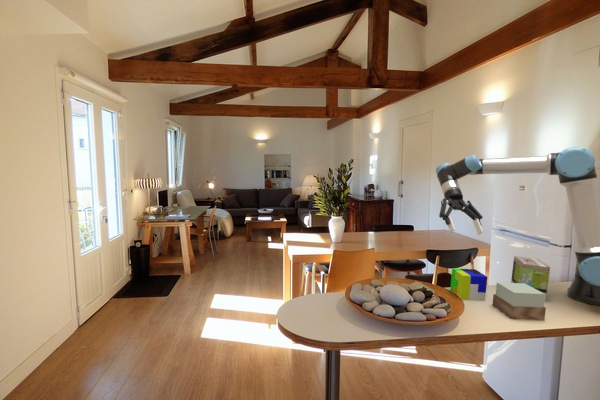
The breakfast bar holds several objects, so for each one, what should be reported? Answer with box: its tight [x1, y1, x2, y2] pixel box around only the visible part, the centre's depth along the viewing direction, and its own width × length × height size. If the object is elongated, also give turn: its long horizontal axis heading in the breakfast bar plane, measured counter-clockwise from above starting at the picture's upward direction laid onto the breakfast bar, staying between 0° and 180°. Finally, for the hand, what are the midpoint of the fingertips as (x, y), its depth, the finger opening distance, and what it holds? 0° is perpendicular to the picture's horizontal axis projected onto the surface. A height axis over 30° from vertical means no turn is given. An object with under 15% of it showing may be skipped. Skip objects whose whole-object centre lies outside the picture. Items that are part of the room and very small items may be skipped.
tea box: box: [510, 255, 551, 302], centre depth 149 cm, size 15×10×15 cm
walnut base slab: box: [491, 293, 547, 321], centre depth 128 cm, size 12×12×5 cm
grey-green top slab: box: [495, 281, 546, 308], centre depth 127 cm, size 11×11×5 cm
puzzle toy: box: [449, 267, 488, 301], centre depth 144 cm, size 10×10×10 cm
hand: (466, 232), depth 147 cm, fingers open, 13 cm apart
